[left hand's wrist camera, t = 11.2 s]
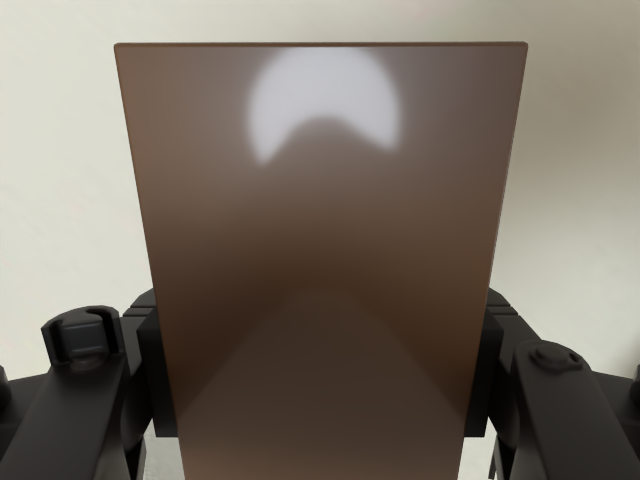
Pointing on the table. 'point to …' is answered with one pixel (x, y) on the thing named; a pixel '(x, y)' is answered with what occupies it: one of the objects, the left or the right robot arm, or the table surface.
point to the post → (321, 245)
